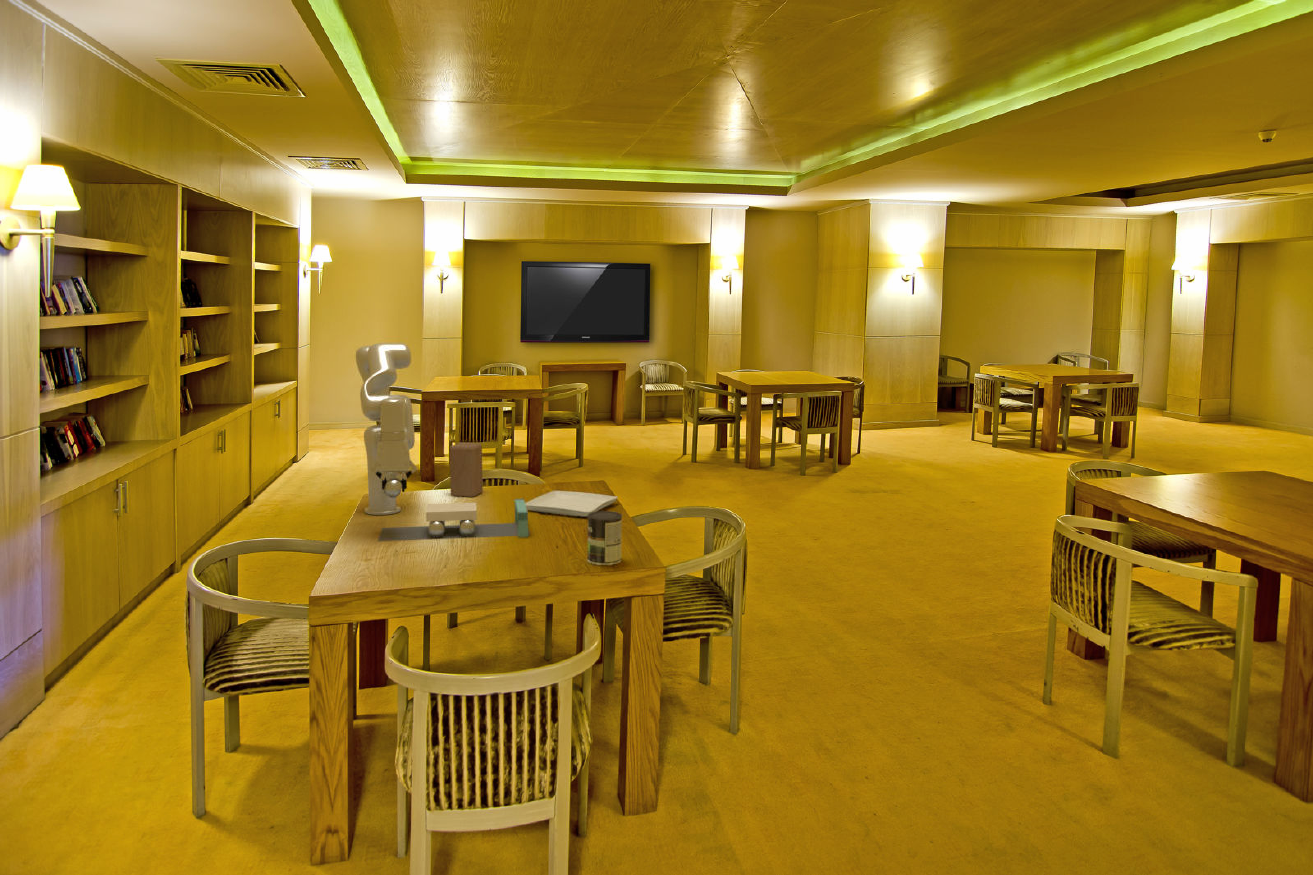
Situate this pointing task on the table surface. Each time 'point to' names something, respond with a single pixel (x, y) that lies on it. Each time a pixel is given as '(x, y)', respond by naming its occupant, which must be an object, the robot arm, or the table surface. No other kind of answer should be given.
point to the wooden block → (466, 469)
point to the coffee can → (604, 538)
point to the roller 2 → (467, 527)
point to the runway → (454, 530)
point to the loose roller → (393, 485)
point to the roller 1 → (436, 528)
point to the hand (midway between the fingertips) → (394, 490)
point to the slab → (451, 512)
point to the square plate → (570, 503)
